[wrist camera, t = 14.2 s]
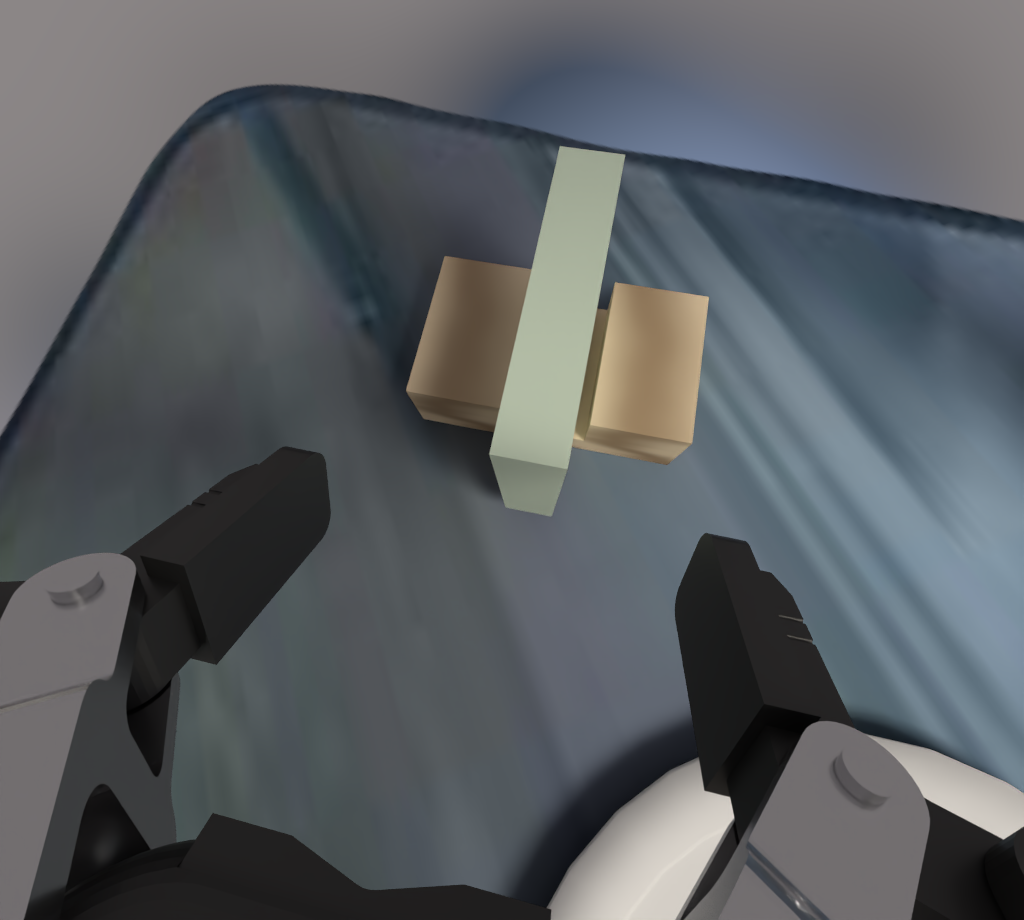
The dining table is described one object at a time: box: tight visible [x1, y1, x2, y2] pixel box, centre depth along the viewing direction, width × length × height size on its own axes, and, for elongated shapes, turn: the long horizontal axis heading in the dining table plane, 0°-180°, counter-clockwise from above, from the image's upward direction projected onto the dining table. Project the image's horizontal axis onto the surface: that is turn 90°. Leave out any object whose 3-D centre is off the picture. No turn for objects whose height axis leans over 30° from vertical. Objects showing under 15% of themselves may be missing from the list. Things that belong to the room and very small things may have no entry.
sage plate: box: [489, 146, 625, 517], centre depth 20 cm, size 2×12×10 cm, turn 168°
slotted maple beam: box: [406, 256, 709, 465], centre depth 25 cm, size 14×8×4 cm, turn 78°
